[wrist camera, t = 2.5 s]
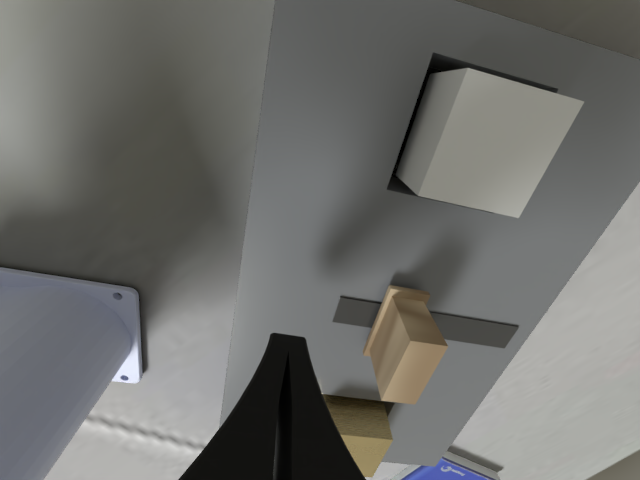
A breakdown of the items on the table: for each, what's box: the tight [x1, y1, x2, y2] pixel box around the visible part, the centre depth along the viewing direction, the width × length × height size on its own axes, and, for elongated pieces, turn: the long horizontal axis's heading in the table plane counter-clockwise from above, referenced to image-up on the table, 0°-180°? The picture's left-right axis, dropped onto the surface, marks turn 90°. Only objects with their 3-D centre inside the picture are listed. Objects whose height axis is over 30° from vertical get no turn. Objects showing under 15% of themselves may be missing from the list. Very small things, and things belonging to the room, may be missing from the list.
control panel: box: [219, 0, 640, 467], centre depth 17 cm, size 16×26×3 cm, turn 167°
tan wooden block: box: [363, 285, 448, 405], centre depth 14 cm, size 2×4×3 cm, turn 167°
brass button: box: [322, 394, 393, 477], centre depth 19 cm, size 4×4×3 cm
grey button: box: [395, 68, 584, 218], centre depth 11 cm, size 4×4×3 cm
